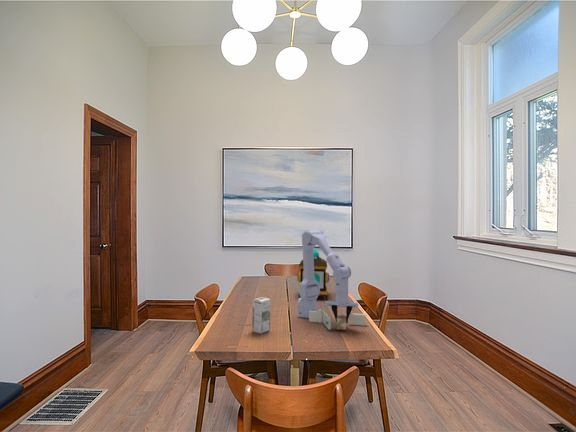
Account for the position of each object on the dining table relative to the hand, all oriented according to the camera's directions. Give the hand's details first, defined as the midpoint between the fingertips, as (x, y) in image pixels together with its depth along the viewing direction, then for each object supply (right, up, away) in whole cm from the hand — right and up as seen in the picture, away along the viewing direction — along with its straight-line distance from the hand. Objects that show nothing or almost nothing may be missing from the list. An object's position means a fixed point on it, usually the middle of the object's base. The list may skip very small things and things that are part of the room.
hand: (341, 322), depth 154 cm
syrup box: (-36, -3, -3) cm, 37 cm away
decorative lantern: (-9, -2, +56) cm, 57 cm away
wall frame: (-1, -3, +7) cm, 8 cm away
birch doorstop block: (0, -2, 0) cm, 2 cm away
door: (-7, -2, +3) cm, 8 cm away
